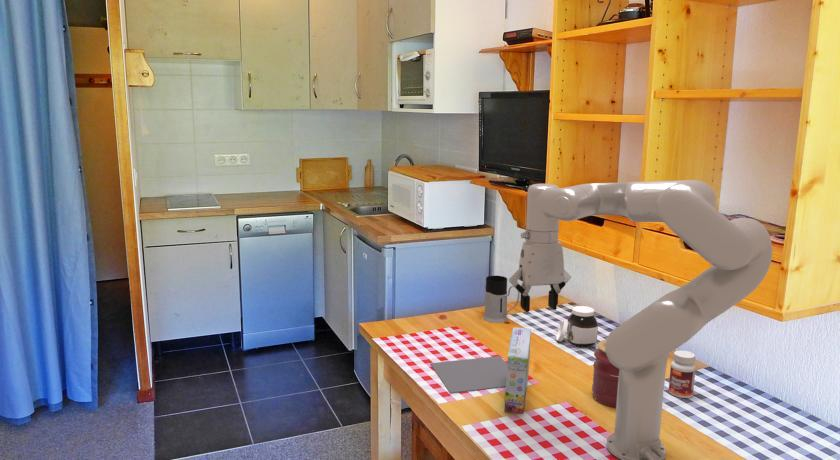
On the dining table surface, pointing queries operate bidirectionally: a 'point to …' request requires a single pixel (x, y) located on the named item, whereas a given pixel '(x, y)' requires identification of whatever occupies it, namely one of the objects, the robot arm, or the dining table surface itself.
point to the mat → (472, 374)
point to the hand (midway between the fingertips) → (538, 308)
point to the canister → (604, 378)
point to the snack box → (517, 370)
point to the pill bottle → (682, 374)
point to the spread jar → (580, 327)
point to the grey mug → (496, 299)
